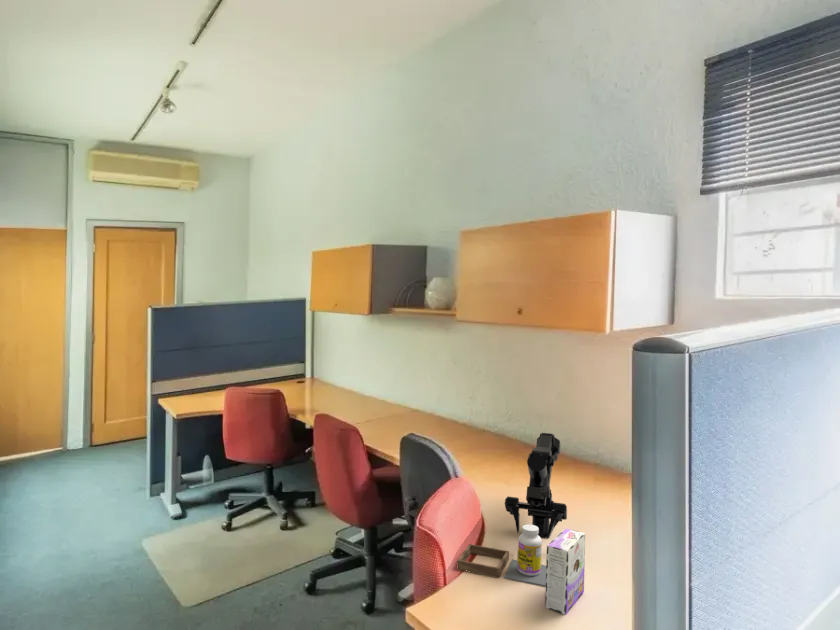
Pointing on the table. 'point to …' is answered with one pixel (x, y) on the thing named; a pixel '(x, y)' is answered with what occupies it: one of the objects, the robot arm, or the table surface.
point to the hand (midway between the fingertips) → (532, 534)
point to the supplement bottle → (529, 551)
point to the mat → (515, 575)
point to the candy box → (565, 571)
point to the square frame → (481, 568)
